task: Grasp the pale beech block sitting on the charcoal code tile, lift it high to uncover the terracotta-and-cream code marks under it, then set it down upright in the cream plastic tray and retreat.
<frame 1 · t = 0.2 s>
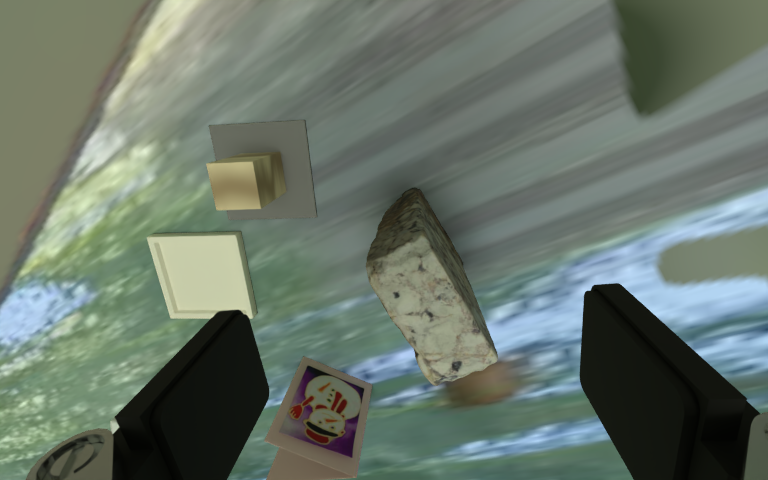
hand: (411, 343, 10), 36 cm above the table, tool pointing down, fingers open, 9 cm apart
stone block: (426, 235, 48), on the table
code tile: (265, 172, 47), on the table
greeting card: (332, 382, 58), on the table
cream tray: (207, 274, 53), on the table
beech block: (264, 173, 46), resting on code tile
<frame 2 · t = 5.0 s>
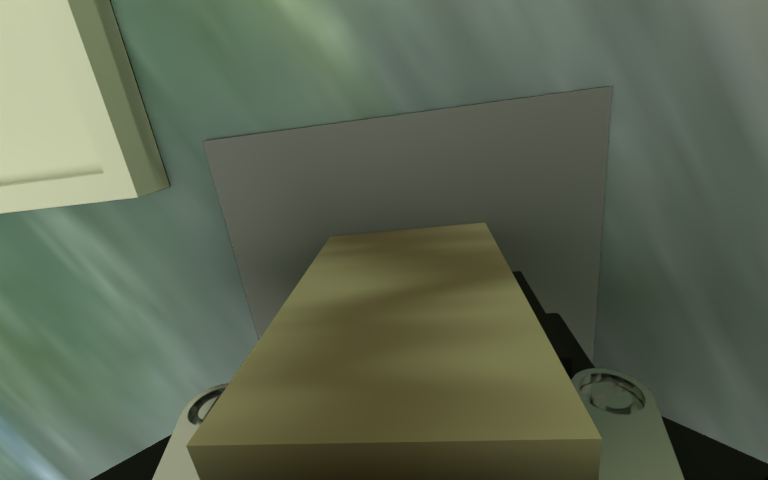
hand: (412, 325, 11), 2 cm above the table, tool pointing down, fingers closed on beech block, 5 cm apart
code tile: (413, 295, 13), on the table
beech block: (413, 298, 13), resting on code tile, touching gripper
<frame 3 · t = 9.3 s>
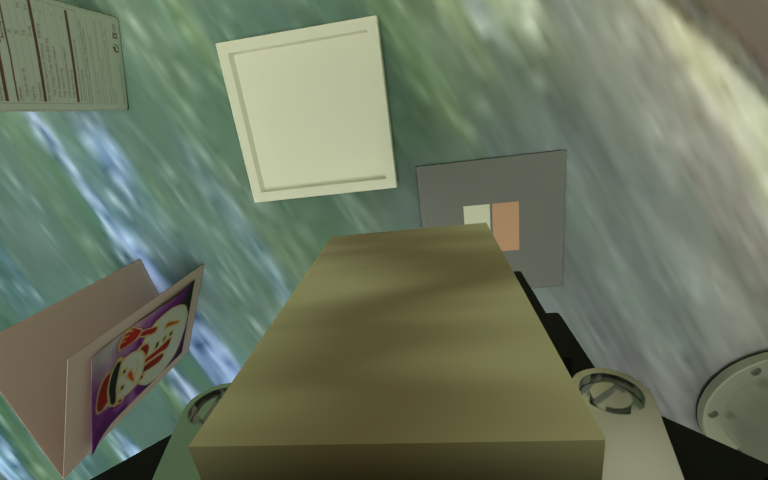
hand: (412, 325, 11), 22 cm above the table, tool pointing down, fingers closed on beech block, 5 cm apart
code tile: (491, 227, 32), on the table
greeting card: (171, 299, 39), on the table
cream tray: (314, 117, 31), on the table
beech block: (414, 298, 13), point 20 cm above the table, touching gripper
supplement box: (88, 61, 32), on the table
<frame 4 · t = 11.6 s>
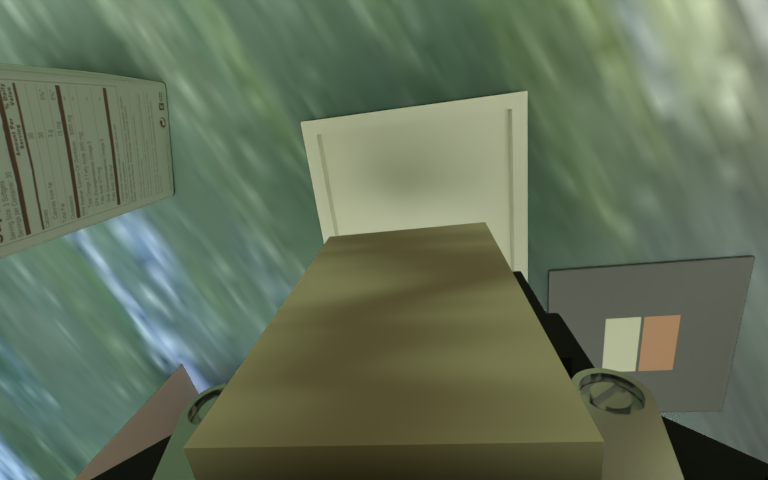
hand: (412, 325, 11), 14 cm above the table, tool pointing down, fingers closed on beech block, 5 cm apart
code tile: (637, 342, 26), on the table
greeting card: (218, 408, 32), on the table
cream tray: (420, 209, 24), on the table
beech block: (413, 298, 13), point 12 cm above the table, touching gripper
supplement box: (123, 135, 24), on the table
when the fingers open (4 cm above the table, at t = 13.7 s): beech block drops 2 cm, resting on cream tray.
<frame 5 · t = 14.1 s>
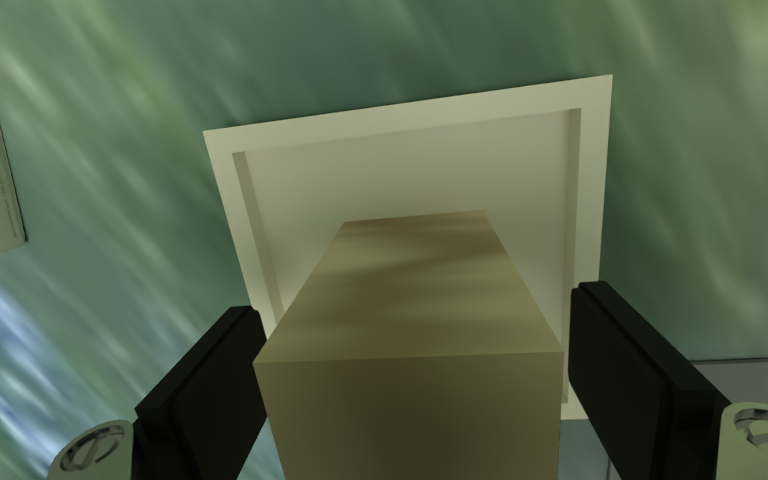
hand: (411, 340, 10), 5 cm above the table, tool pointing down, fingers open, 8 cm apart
code tile: (750, 469, 17), on the table
cream tray: (414, 271, 15), on the table
beech block: (417, 278, 14), point 1 cm above the table, touching cream tray
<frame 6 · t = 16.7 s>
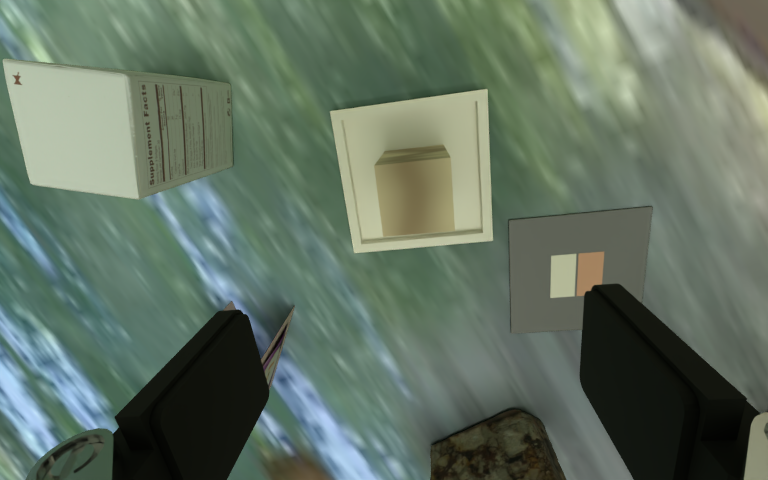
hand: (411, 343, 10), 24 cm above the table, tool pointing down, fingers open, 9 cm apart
stone block: (485, 435, 43), on the table
code tile: (575, 274, 35), on the table
greeting card: (258, 338, 41), on the table
cream tray: (414, 175, 33), on the table
beech block: (416, 176, 32), point 1 cm above the table, touching cream tray
supplement box: (196, 122, 33), on the table
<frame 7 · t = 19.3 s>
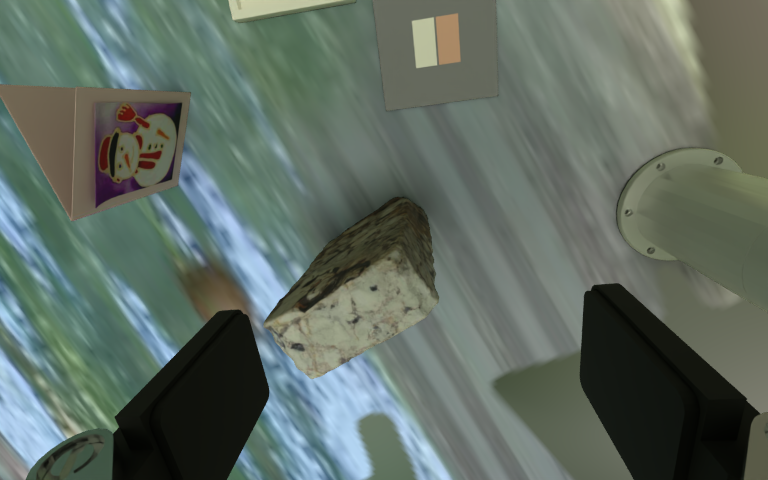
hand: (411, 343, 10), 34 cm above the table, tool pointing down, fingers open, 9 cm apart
stone block: (376, 232, 46), on the table
code tile: (436, 41, 38), on the table
greeting card: (162, 132, 44), on the table
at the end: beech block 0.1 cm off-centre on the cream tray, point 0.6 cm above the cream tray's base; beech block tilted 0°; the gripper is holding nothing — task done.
